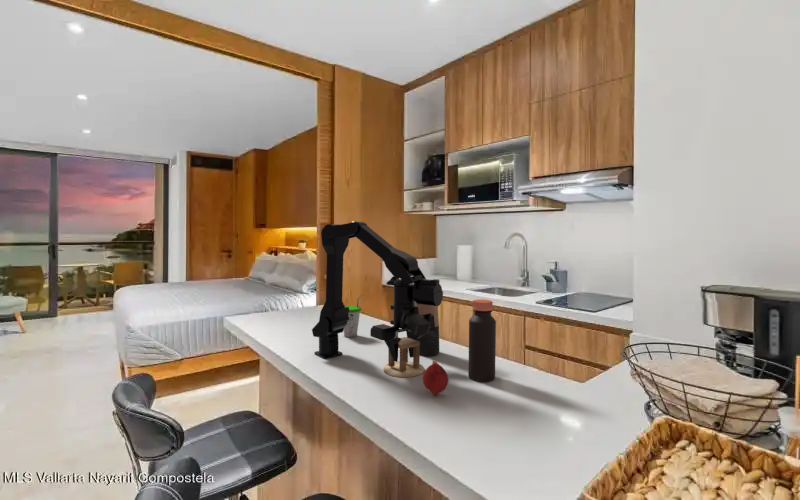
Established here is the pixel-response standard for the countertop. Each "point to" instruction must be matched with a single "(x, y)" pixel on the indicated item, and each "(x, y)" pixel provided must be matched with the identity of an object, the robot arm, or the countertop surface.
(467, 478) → the countertop surface
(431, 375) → the onion
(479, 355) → the bottle
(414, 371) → the trivet
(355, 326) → the cup
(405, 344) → the tan block with prongs
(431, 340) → the travel mug
